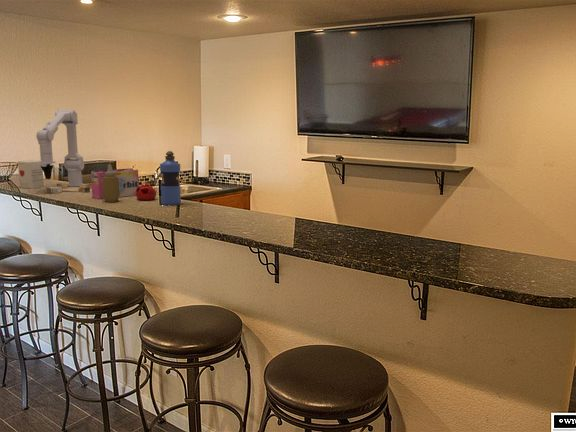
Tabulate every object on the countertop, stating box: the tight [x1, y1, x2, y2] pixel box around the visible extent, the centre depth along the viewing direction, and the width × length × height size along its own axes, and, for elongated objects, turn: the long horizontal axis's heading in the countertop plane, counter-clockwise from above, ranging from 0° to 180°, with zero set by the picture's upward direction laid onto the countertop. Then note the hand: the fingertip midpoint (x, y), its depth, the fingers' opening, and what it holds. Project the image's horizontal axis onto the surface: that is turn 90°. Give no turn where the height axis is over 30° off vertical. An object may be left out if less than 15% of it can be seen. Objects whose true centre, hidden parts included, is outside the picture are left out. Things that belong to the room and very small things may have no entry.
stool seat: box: [56, 182, 92, 194], centre depth 269 cm, size 20×20×3 cm
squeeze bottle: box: [102, 163, 120, 203], centre depth 235 cm, size 8×8×18 cm
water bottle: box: [159, 150, 182, 206], centre depth 232 cm, size 9×9×25 cm
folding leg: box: [45, 186, 63, 194], centre depth 260 cm, size 8×3×3 cm, turn 146°
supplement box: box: [17, 159, 45, 190], centre depth 275 cm, size 9×9×15 cm
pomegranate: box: [135, 181, 157, 201], centre depth 244 cm, size 10×10×9 cm
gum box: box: [90, 168, 140, 200], centre depth 252 cm, size 24×8×14 cm, turn 139°
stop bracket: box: [51, 188, 61, 195], centre depth 257 cm, size 2×4×3 cm, turn 59°
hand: (48, 179), depth 259 cm, fingers closed
